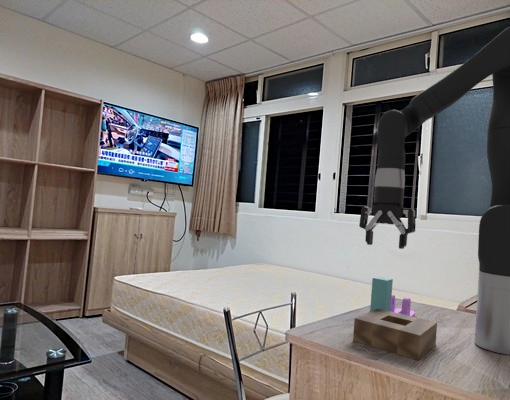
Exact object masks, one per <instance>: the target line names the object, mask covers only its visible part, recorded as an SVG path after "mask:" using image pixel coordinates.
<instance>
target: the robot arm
mask: <svg viewBox="0 0 510 400" xmlns="http://www.w3.org/2000/svg"><path fill="white" fill-rule="evenodd" d="M490 76H492V100H491V104H490V105H491V106H490V109H489V116H488V121H487V122H488V123H487V130H486V131H487V133H486V135H487V136H486V155H487V163H488V169H489V175H490V181H491V196H490V202H489V203H490V205H489V208H488V209H486V210H485V211H484V212H483V213H482V215H481V217H480V220H479V224H478V225H479V226H478V240H477V241H478V245H477V247H478V249H477V259H478V264H479V266H478V284H477V299H476V315H475V327H474V328H475V331H474V344H475V345H476V346H478V347H480V348H482V349H485V350H487V351H490V352H493V353H494V352H495V353H498V354H502V355H510V26H508V27H506V28H505V29H503V30H502V31H501V32H500V33H499V34H497V35H496V36H495V37H494V38H493V39H491V41H490V42H488V43H487V44H486V45H484V46H483V47H482V48H481V49H480V50H479V51H478V52H476V53H475V54H474V55H473V56H471V57H470V58H469V59H468V60H466V61H465V62H464V63H463V64H461V65H460V66H458V67H457V68H456V69H454V70H453V71H451V72H450V73H449V74H447V75H446V76H445V77H443V78H442V79H440V80H438V81H437V82H436V83H433V84H432V85H431V86H429V87H427V88H426V89H424V90H423V91H422V92H420V93H418V94H417V95H415V96H414V97H413V98H411V100H410V101H409V104H408V105H406V107H404V108H403V109H401V110H400V111H399V110H397V109H389V110H387V111H385V112H384V113H383V114H382V115H381V117H380V119H379V120H378V124H377V125H378V126H377V144H378V153H377V154H378V155H377V162H376V163H377V164H376V172H375V178H374V179H375V180H374V190H373V193H374V194H373V206H372V207H368V206H362V207H361V212H360V218H359V228H362V229H364V230H365V243H366V245H368V246H369V245H370V246H371V245H372V246H373V243H374V242H373V240H374V231H373V230H374V229H375V227H376V226H378V225H379V224H387V225H394V226H395V227H396V228H397V230H398V231H399V233H400V234H399V236H398V237H399V239H398V240H399V241H398V249H399V250H401V249H402V250H403V249H404V248H405V247H407V245H408V244H407V243H408V235H409V234H412V233H415V232H416V210H415V209H411V208H410V209H404V196H405V183H406V176H405V168H406V150H405V140H406V137H407V136H409V135H411V134H412V133H414V131H417V129H418V128H419V127H421V126H422V125H424V123H425V122H426V121H428V120H430V119H432V118H434V117H435V116H437V115H438V114H441V113H442V112H443V111H445V110H446V109H448V108H450V107H451V106H452V105H454V104H455V103H457V101H459V100H460V99H461V98H463V96H465V95H466V94H467V93H468V92H470V91H471V90H472V89H473V88H474V87H476V86H477V85H479V84H480V83H481V82H483V81H484V80H486V79H487V78H489V77H490ZM371 213H372V215H373V217H372V219H370V221H369V223H368V220H369V215H370V214H371ZM404 215H405V218H407V227H406V226H405V224H404V222H403V221H402V219H401V218H402V217H403V216H404Z"/></svg>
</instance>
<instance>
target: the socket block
mask: <svg viewBox="0 0 510 400" xmlns="http://www.w3.org/2000/svg"><path fill="white" fill-rule="evenodd" d="M353 320H354V321H353V335H352V341H353V342H357V343H360V344H364V345H367V346H370V347H373V348H377V349H379V350H383V351H386V352H389V353H393V354H397V355H399V356H403V357H405V358H409V359H413V360H416V361H419V360H421V359H422V357H424V356H425V355H426V354H427V353H428V352H429V351H431V349H433V347H434V346H436V342H437V331H438V330H437V329H438V322H437V321H433V320H428V319H423V318H420V317H416V316H415V317H412V316H408V315H403V314H399V313H395V312H391V311H386V310H382V309H375V310H373V311H371V312H370V311H368V312H366V313H364V314H361V315H359V316H356V317H355V318H354V319H353Z"/></svg>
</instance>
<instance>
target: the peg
mask: <svg viewBox="0 0 510 400" xmlns="http://www.w3.org/2000/svg"><path fill="white" fill-rule="evenodd" d="M393 283H394V282H393V278H389V277H384V276H374V277H372V280H371V295H370V296H371V297H370V308H369V312H371V311H373V310H375V309H382V310H386V311H391V297H392V295H393Z"/></svg>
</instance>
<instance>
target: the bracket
mask: <svg viewBox="0 0 510 400" xmlns="http://www.w3.org/2000/svg"><path fill="white" fill-rule="evenodd" d="M411 302H412V301H411V298H410V297H406V296H404V297H403V298H402V302H401V308H399V307H397V308H395V307H396V295H394V294H392V297H391V312H395V313H399V314H403V315H408V316H412V317H416V312H415V311H414V310H412V309H411V306H412V305H411V304H412V303H411Z"/></svg>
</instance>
